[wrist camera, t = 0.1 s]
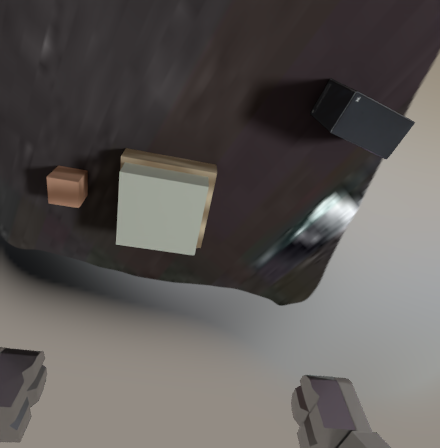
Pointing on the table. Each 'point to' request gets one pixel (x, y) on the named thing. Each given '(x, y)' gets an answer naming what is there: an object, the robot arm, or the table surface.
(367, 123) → the small box
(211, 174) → the birch slab
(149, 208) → the sage block
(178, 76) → the table surface
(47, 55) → the table surface
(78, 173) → the terracotta cube
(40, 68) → the table surface
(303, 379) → the robot arm
